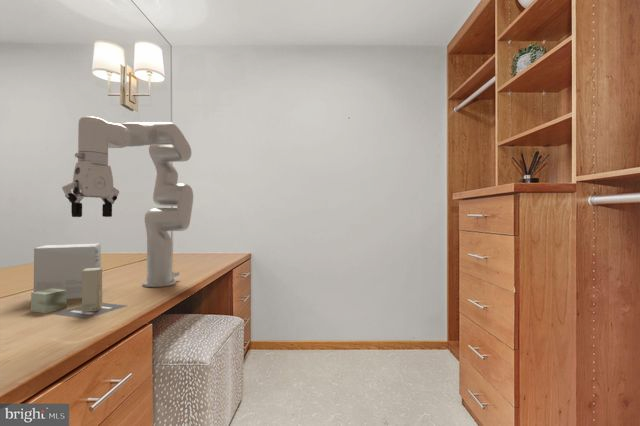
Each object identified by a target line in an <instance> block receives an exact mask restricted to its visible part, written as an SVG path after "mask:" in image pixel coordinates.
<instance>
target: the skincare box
mask: <svg viewBox="0 0 640 426" xmlns="http://www.w3.org/2000/svg"><path fill="white" fill-rule="evenodd" d="M102 303H103V267H102V266H101V267H100V268H86V269H84V270H83V271H82V298H81V306H82V312H93V311H99V310H100V308H101V307H102Z"/></svg>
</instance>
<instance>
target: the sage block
mask: <svg viewBox="0 0 640 426" xmlns="http://www.w3.org/2000/svg"><path fill="white" fill-rule="evenodd" d="M67 301H68V299H67V290H61V289H48V290H43V291H38V292H34V291H32V292H31V296H30V312H34V313H35V312H36V313H42V314H47V313H51V312H56V311H59V310H63V309H66V308H67V304H68V303H67Z"/></svg>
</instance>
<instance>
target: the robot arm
mask: <svg viewBox="0 0 640 426" xmlns="http://www.w3.org/2000/svg"><path fill="white" fill-rule="evenodd" d="M77 124H78V125H77V127H78V129H77V130H78V134H77V136H78V139H77V141H78V142H77V143H78V144H77V152H76V153H75V154H74V157H75V158H77V162H76V163H75V166H74V169H73V170H74V171H73V174H72V175H73V177H72V182H70V183H68V184H67V185H64V186H62V191H63V193H64V194H65V195H64V196H65V197H66V199H68V202H69V203H70V204H71V206H70V207H71V210H70V211H71V217H72V218H81V217H82V216H83V203H82V201H83V199H84V198H100V199H101V201H103V203H102V214H101V215H102V217H104V218H108V217H109V218H112V216H113V205H114V203H115V201H116V200H117V199H118V197H119V195H120V190H119V189H117V188H116V187H114V178H113V177H114V176H113V172H112V167H111V165H109V149H123V148H127V147H143V146H149V147H148V153H149V154H148V155H149V156H150V159H151V160H152V163H153V165H154V167H155V170H156V177H155V181H154V189H153V195H152V200H153V202H154V204H156V205H157V206H161V207H154V208H150V209H149V210H147V211H146V213H145V215H144V223H145V231H146V248H147V249H146V280H145V281H143V282H142V287H145V288H162V287H169V286H173V285H175V284H177V280H176V279H175V277H179V276H180V272H179V271H173V240H172V237H171V235H170V234H169V232H183V231H186V230H187V229H188V228H189V226H190V223H191V218H192V217H191V216H192V212H193V211H192V210H193V204H194V192H193V188H192V187H191V185H189V184H186V183H178V181H179V180H178V179H179V173H178V171H177V169H176V167H175V166H173V164H172V163H171V162H173V163H174V162H181V163H182V162H188V161H189V160H190V159H191V157H192V148H191V145H190V144H189V142H188V140H187V139H186V137H185V135H184V133H183V131H182V130H181V129H180V128H179V127H178V126H177V125H176V124H175V123H173V122H167V121H166V122H165V121H164V122H163V121H162V122H161V121H160V122H159V121H158V122H155V121H154V122H152V121H151V122H149V121H147V122H145V121H143V122H139V121H138V122H137V121H135V122H134V121H133V122H119V123H113V122H108V121H107V120H105V119H103V118H100V117H96V116H83V117H80V118H79V120H78V123H77ZM163 206H164V207H163Z"/></svg>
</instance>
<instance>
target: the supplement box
mask: <svg viewBox="0 0 640 426" xmlns="http://www.w3.org/2000/svg"><path fill="white" fill-rule="evenodd" d="M101 247H102V246H101V243H99V242H98V243H78V244H77V243H75V244H74V243H71V244H45V245H42V246H37V247H34V248H33V292H38V291H43V290H48V289H61V290H67V300H71V299H72V300H73V299H74V300H75V299H82V271H83V270H84V269H86V268H100V267H102V265H101V263H102V262H101V261H102V256H101V255H102V254H101Z"/></svg>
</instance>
